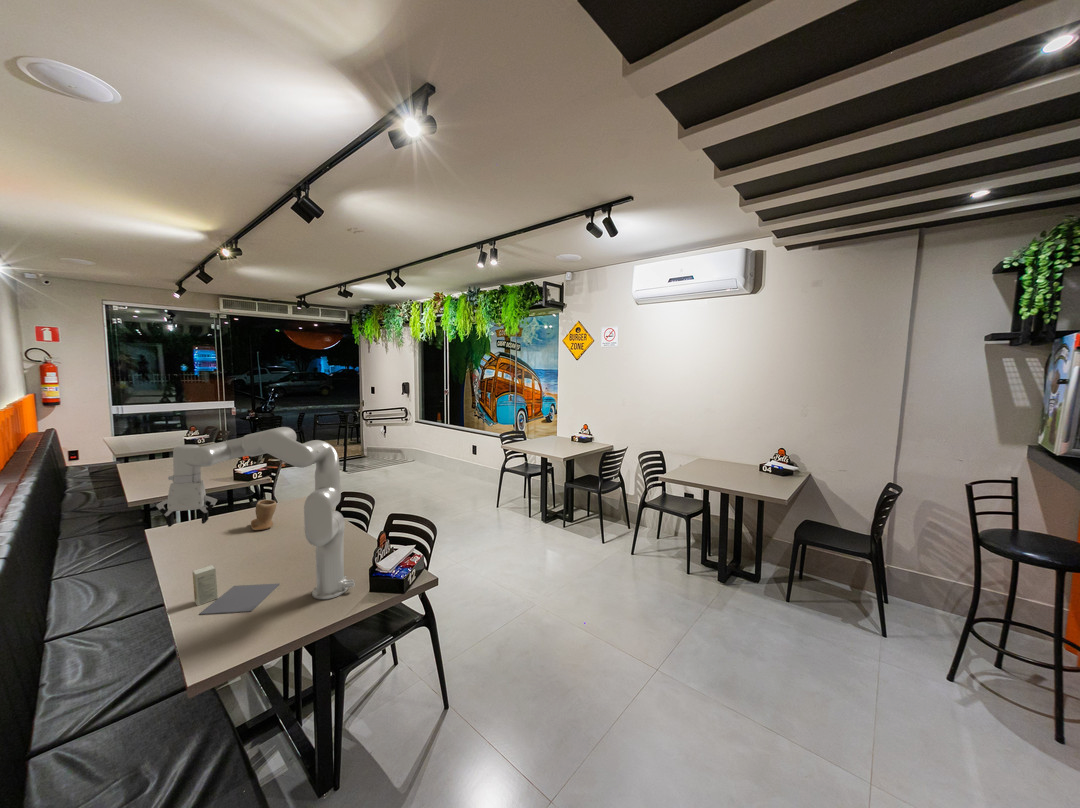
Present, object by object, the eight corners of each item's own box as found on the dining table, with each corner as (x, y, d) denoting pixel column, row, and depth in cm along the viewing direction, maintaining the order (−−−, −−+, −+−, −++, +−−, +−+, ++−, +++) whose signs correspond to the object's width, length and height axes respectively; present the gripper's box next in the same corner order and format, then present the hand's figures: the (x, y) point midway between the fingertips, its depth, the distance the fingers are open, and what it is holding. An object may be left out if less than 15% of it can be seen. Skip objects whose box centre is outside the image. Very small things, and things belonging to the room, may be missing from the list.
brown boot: (277, 528, 219) (276, 502, 218) (251, 533, 212) (250, 506, 211) (276, 520, 231) (275, 495, 230) (251, 524, 224) (250, 498, 223)
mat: (279, 584, 160) (279, 583, 160) (251, 611, 141) (251, 610, 141) (233, 586, 158) (233, 585, 158) (199, 614, 139) (199, 613, 139)
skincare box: (215, 595, 152) (213, 564, 151) (218, 599, 149) (216, 567, 148) (193, 602, 147) (191, 570, 146) (196, 606, 144) (194, 574, 143)
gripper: (151, 482, 138) (152, 530, 139) (213, 479, 146) (213, 524, 147) (161, 477, 145) (161, 523, 146) (219, 474, 152) (220, 518, 153)
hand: (187, 523), depth 146 cm, fingers open, 9 cm apart
